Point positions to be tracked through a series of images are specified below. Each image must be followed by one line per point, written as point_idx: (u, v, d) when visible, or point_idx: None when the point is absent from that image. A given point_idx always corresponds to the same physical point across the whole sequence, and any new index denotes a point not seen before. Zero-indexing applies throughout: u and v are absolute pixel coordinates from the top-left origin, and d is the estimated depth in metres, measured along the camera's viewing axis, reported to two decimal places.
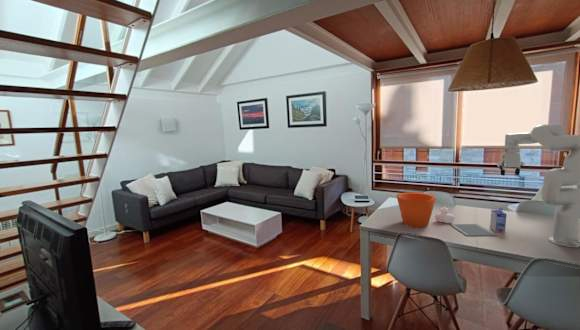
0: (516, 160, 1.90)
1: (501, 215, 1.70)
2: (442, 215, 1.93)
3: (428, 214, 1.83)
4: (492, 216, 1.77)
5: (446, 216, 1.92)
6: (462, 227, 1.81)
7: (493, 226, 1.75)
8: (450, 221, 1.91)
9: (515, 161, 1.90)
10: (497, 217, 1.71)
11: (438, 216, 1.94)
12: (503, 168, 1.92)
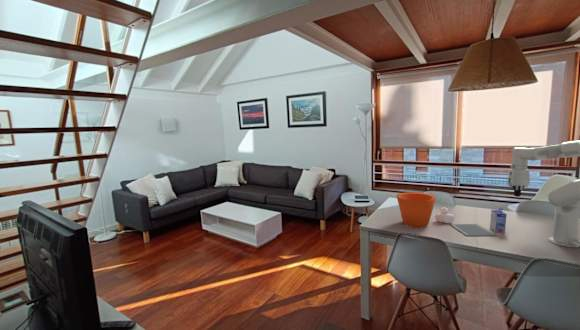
0: (525, 178, 1.68)
1: (501, 215, 1.70)
2: (442, 215, 1.93)
3: (428, 214, 1.83)
4: (492, 216, 1.77)
5: (446, 216, 1.92)
6: (462, 227, 1.81)
7: (493, 226, 1.75)
8: (450, 221, 1.91)
9: (523, 179, 1.68)
10: (497, 217, 1.71)
11: (438, 216, 1.94)
12: (516, 188, 1.71)
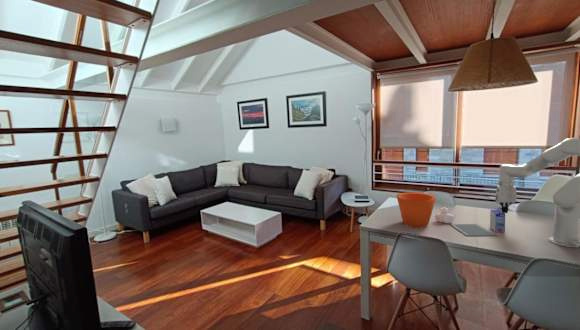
0: (511, 195, 1.70)
1: (500, 215, 1.70)
2: (442, 215, 1.93)
3: (428, 214, 1.83)
4: (491, 216, 1.78)
5: (446, 216, 1.92)
6: (462, 227, 1.81)
7: (493, 226, 1.75)
8: (450, 221, 1.91)
9: (510, 196, 1.70)
10: (496, 217, 1.71)
11: (438, 216, 1.94)
12: (504, 205, 1.73)
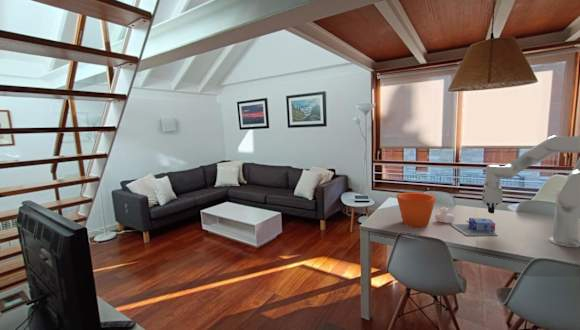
0: (498, 195, 1.70)
1: (474, 226, 1.75)
2: (442, 215, 1.93)
3: (428, 214, 1.83)
4: None
5: (446, 216, 1.92)
6: (462, 227, 1.81)
7: None
8: (450, 221, 1.91)
9: (496, 196, 1.71)
10: (477, 229, 1.75)
11: (438, 216, 1.94)
12: (490, 205, 1.73)
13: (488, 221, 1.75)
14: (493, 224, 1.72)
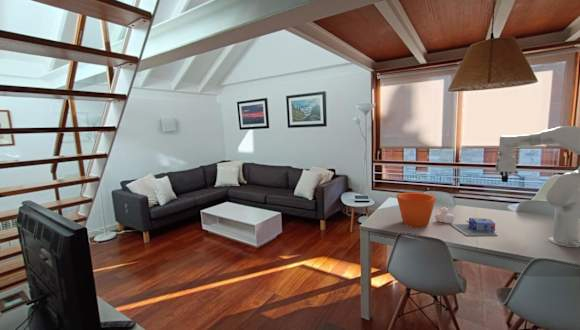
0: (511, 164, 1.78)
1: (474, 226, 1.75)
2: (442, 215, 1.93)
3: (428, 214, 1.83)
4: None
5: (446, 216, 1.92)
6: (462, 227, 1.81)
7: None
8: (450, 221, 1.91)
9: (510, 165, 1.78)
10: (477, 229, 1.75)
11: (438, 216, 1.94)
12: (504, 174, 1.81)
13: (488, 221, 1.75)
14: (493, 224, 1.72)
